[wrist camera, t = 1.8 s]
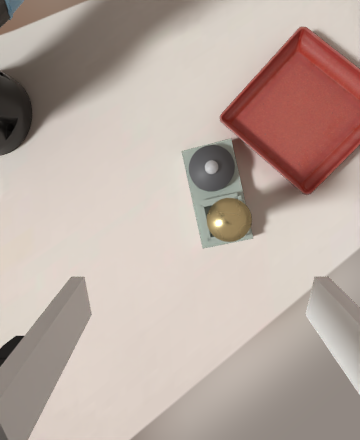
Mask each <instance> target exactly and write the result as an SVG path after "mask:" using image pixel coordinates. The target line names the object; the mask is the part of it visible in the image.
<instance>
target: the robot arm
mask: <svg viewBox="0 0 360 440" xmlns="http://www.w3.org/2000/svg"><path fill="white" fill-rule="evenodd" d="M23 1H24V0H0V27H1V26H3V25H4V24H5V23H6V22H7V21H8V20H11V19H12V17H13V13H14V12H15V11H16V9H17V8H18V7H19V6H20V5H21V4H22V3H23ZM31 118H32V109H31V103H30V100H29V97H28V95H27V93H26V91H25V90H24V88H23V87H22V86H21V85H20V84H19V83H18V82H17V81H15V80H14V79H12V78H11V77H10V76H8V75H7V74H5V73H3V72H1V71H0V155H3V154H6V153H9V152H11V151H12V150H14V149H15V148H16V147H18V146H19V145H20V144H21V142H22V141H23V140H24V138H25V137H26V135H27V133H28V131H29V128H30V124H31ZM91 315H92V314H91V309H90V304H89V298H88V293H87V288H86V283H85V277H71V278H70V279H69V280H68V282H67V283H66V284H65V285H64V287H63V288H62V289H61V290H60V292H59V293H58V294H57V296H56V297H55V298H54V299H53V301H52V302H51V303H50V304H49V306H48V307H47V308H46V309H45V311H44V312H43V313H42V315H41V316H40V317H39V318H38V320H37V321H36V322H35V323H34V325H33V326H32V327H31V329H30V330H29V331H28V332H27V334H26V335H25V336H15V337H14V338H13V339H11V340H10V341H9V342H7V343H6V344H5V345H3V346H2V347H1V349H0V440H28V438H29V436H30V434H31V432H32V430H33V428H34V426H35V425H36V423H37V421H38V419H39V417H40V415H41V413H42V411H43V409H44V407H45V405H46V403H47V401H48V399H49V397H50V395H51V393H52V391H53V389H54V387H55V385H56V383H57V381H58V379H59V377H60V375H61V374H62V372H63V370H64V368H65V366H66V364H67V362H68V360H69V358H70V356H71V354H72V352H73V350H74V348H75V346H76V344H77V342H78V340H79V338H80V336H81V334H82V332H83V330H84V328H85V326H86V324H87V323H88V321H89V319H90V317H91ZM306 316H307V318H308V319H309V321H310V322H311V324H312V325H313V327H314V328H315V329H316V331H317V332H318V334H319V336H320V337H321V338H322V340H323V341H324V343H325V344H326V346H327V347H328V349H329V350H330V352H331V353H332V355H333V356H334V357H335V359H336V361H337V362H338V363H339V365H340V366H341V368H342V369H343V371H344V372H345V374H346V375H347V377H348V378H349V380H350V381H351V383H352V384H353V386H354V387H355V389H356V390H357V391H358V393H359V394H360V307H359V306H358V305H357V304H355V302H354V301H352V299H351V298H350V297H349V296H348V295H346V293H345V292H343V291H342V290H341V289H340V288H339V287H338V286H337V285H336V284H335V283H334V282H333V281H332V280H331V279H330V278H329V277H314V282H313V286H312V290H311V294H310V299H309V303H308V307H307V311H306Z"/></svg>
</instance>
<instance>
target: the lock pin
mask: <svg viewBox="0 0 360 440" xmlns="http://www.w3.org/2000/svg"><path fill="white" fill-rule="evenodd" d="M251 223H252V217H251V213H250V210H249V209H248V207H247V206H246V205H245V204H244V203H243V202H242V201H240V200H238V199H235V198H224V199H221V200H218V201H217V202H215V203H214V204H213V205H212V206H211V208H210V209H209V211H208V214H207V226H208V228H209V231H210V232H211V233H212V235H213V236H214V237H216V238H217V239H219V240H221V241H225V242H234V241H237V240H239V239H241V238H243V237H244V236H245V235H246V234H247V233H248V231H249V229H250V227H251Z"/></svg>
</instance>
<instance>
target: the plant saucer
mask: <svg viewBox="0 0 360 440" xmlns="http://www.w3.org/2000/svg"><path fill="white" fill-rule="evenodd" d="M220 121H221V122H222V123H223V124H224V125H225V126H226V127H227V128H228V129H230V130H231V131H232V132H233V133H234V134H235V135H237V136H238V137H239V138H240V139H241V140H242V141H243V142H245V143H246V144H247V145H248V146H249V147H250V148H251V149H253V150H254V151H255V152H256V153H257V154H258V155H259V156H261V157H262V158H263V159H264V160H265V161H266V162H267V163H269V164H270V165H271V166H272V167H273V168H274V169H276V170H277V171H278V172H279V173H280V174H281V175H282V176H283V177H285V178H286V179H287V180H288V181H289V182H290V183H291V184H293V185H294V186H295V187H296V188H297V189H298V190H299V191H300V192H302V193H303V194H305V195H309V194H311V193H312V192H313V191H314V190H315V189H316V188H317V187H318V186H319V185H320V184H321V183H322V182H323V181H324V180H325V179H326V178H327V177H328V176H329V175H330V174H331V173H332V172H333V171H334V170H335V169H336V168H337V167H338V166H339V165H340V164H341V163H342V162H343V161H344V160H345V159H346V158H347V157H348V156H349V155H350V154H351V153H352V152H353V151H354V150H355V149H356V148H357V147H358V146H359V145H360V68H358V67H357V66H356V65H354V64H353V63H352V62H350V61H349V60H348V59H346V58H345V57H344V56H343V55H342V54H340V53H339V52H338V51H337V50H335V49H334V48H333V47H331V46H330V45H329V44H328V43H326V42H325V41H324V40H322V39H321V38H320V37H319V36H317V35H316V34H315V33H314V32H312V31H311V30H310V29H308V28H307V27H300V28H298V29H297V30H296V32H295V33H294V34H293V35H292V36H291V37H290V38H289V39H288V40H287V41H286V43H285V44H284V45H283V46H282V47H281V48H280V49H279V50H278V52H277V53H276V54H275V55H274V56H273V57H272V58H271V59H270V60H269V62H268V63H267V64H266V65H265V66H264V67H263V68H262V69H261V70H260V72H259V73H258V74H257V75H256V76H255V77H254V78H253V79H252V80H251V82H250V83H249V84H248V85H247V86H246V87H245V88H244V89H243V91H242V92H241V93H240V94H239V95H238V96H237V97H236V98H235V99H234V100H233V102H232V103H231V104H230V105H229V106H228V107H227V108H226V109H225V110H224V111H223V113H222V114H221V115H220Z"/></svg>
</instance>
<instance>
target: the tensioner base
mask: <svg viewBox="0 0 360 440" xmlns="http://www.w3.org/2000/svg"><path fill="white" fill-rule="evenodd" d="M182 155H183V160H184V165H185V169H186V174H187V178H188V183H189V188H190V192H191V197H192V201H193V206H194V211H195V215H196V220H197V224H198V229H199V233H200V238H201V243H202V247H203V248H208V247H213V246H218V245H223V244H228V243H233V242H225V241H221V240H219V239H217V238H216V237H214V236H213V235H212V233H211V232H210V231H209V228H208V226H207V214H208V211H209V209H210V208H211V206H212V205H213V204H214V203H215V202H217V201H218V200H221V199H224V198H235V199H238V200H240V201H242V202H243V203H244V204H245V205H246V203H245V199H244V194H243V190H242V185H241V181H240V176H239V172H238V167H237V163H236V158H235V153H234V149H233V144H232V140H231V139H227V140H223V141H219V142H215V143H212V144H208V145H204V146H200V147H196V148H192V149H188V150H185V151H182ZM248 239H253V235H252V230H251V227H250V229H249V231H248V233H247V234H246V235H245V236H244V237H243V238H241V239H239V240H237V241H234V242H238V241H243V240H248Z"/></svg>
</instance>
